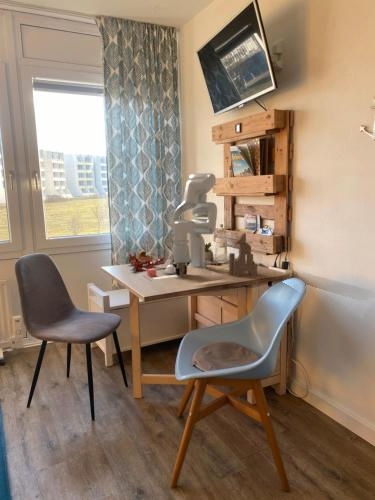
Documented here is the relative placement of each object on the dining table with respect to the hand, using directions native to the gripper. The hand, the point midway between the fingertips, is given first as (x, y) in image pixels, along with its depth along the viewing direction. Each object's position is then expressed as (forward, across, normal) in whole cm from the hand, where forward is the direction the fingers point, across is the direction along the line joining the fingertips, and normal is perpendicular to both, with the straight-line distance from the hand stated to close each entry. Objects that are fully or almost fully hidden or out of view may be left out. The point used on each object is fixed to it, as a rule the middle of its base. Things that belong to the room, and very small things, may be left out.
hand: (181, 274), depth 219 cm
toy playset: (+3, +9, -33) cm, 34 cm away
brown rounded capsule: (0, 0, 0) cm, 0 cm away
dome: (0, +4, -7) cm, 8 cm away
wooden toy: (+2, -34, +13) cm, 36 cm away
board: (+2, +8, -4) cm, 9 cm away
